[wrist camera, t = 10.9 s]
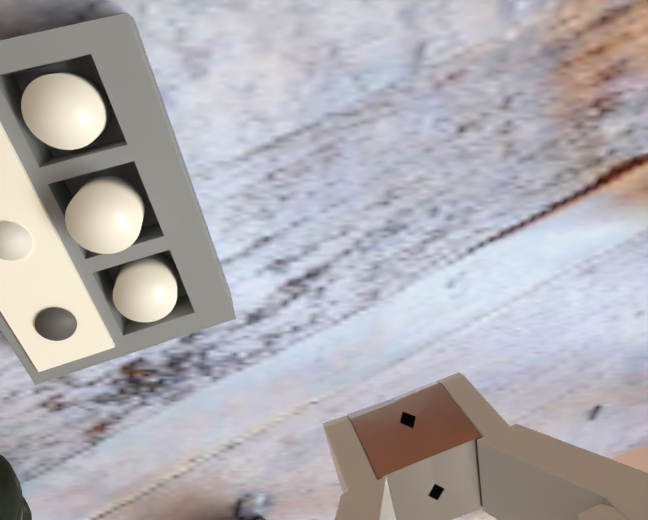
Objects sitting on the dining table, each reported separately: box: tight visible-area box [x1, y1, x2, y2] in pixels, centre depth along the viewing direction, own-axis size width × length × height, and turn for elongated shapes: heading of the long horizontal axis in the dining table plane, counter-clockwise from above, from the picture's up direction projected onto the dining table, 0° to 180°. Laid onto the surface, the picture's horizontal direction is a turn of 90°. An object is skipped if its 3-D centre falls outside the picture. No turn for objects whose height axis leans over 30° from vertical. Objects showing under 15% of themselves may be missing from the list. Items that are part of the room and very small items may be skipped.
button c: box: [113, 253, 178, 322], centre depth 32 cm, size 4×4×3 cm
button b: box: [65, 175, 145, 254], centre depth 28 cm, size 4×4×3 cm
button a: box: [21, 72, 110, 150], centre depth 27 cm, size 4×4×3 cm
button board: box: [0, 13, 236, 385], centre depth 30 cm, size 14×20×4 cm
